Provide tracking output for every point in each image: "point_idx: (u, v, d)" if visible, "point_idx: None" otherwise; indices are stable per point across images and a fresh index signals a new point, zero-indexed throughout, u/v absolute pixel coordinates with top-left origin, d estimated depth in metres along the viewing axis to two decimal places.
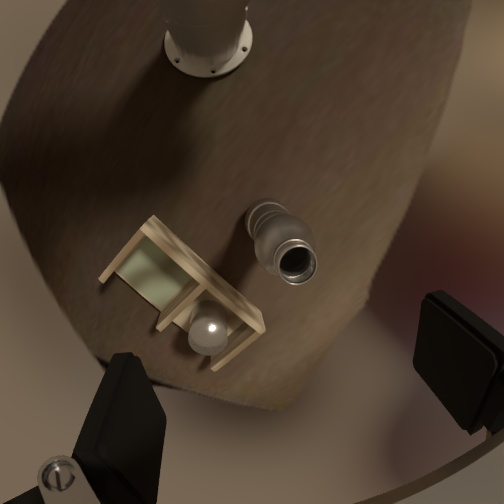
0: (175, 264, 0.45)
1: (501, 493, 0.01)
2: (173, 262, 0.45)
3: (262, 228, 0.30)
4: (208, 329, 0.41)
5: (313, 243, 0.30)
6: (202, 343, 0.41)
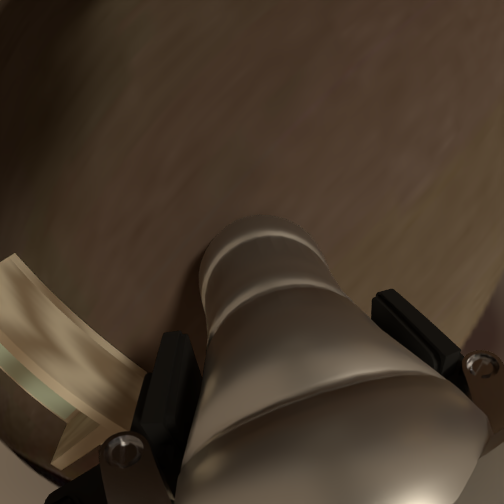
0: None
1: (501, 493, 0.01)
2: None
3: None
4: None
5: None
6: None
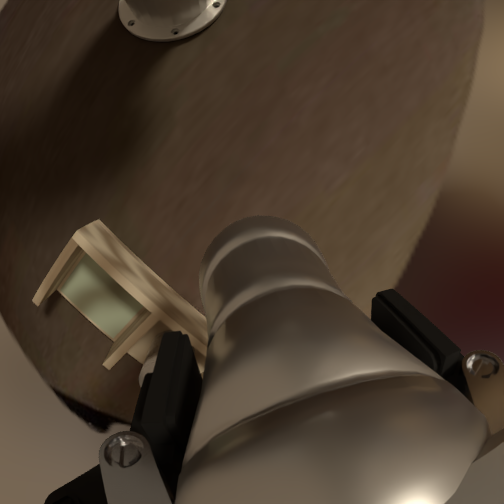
0: None
1: (501, 493, 0.01)
2: None
3: None
4: None
5: None
6: None
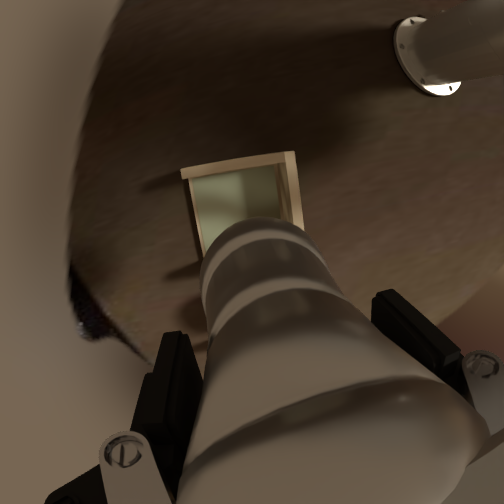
0: None
1: (501, 493, 0.01)
2: (265, 216, 0.35)
3: None
4: None
5: None
6: None
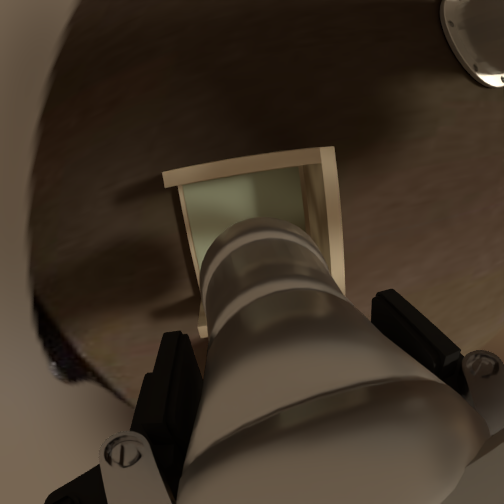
0: None
1: (501, 493, 0.01)
2: None
3: None
4: None
5: None
6: None
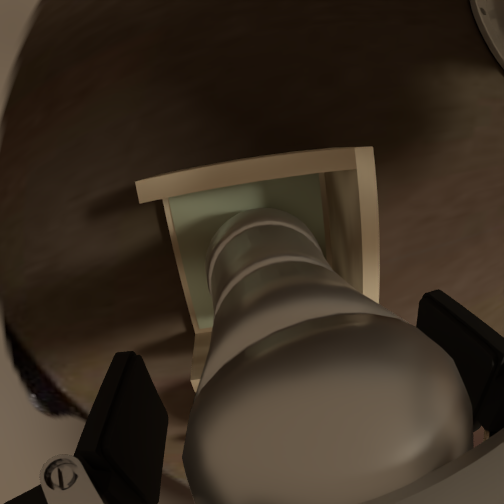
0: None
1: (501, 493, 0.01)
2: None
3: (213, 422, 0.04)
4: None
5: None
6: None
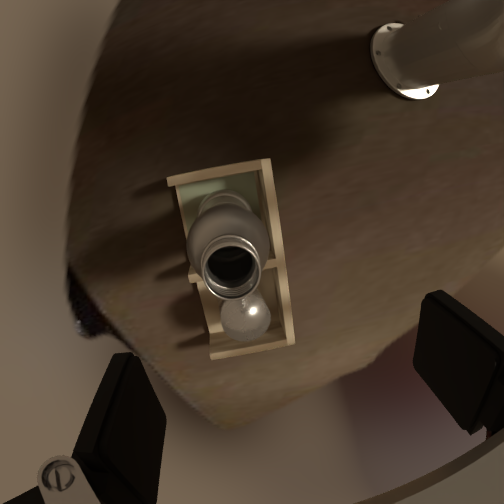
0: None
1: (501, 493, 0.01)
2: None
3: (194, 222, 0.22)
4: (247, 306, 0.33)
5: (263, 242, 0.22)
6: (239, 324, 0.34)
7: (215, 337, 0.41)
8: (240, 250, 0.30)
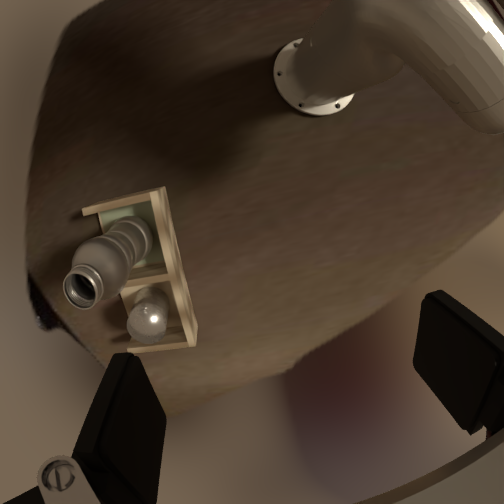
0: (154, 241, 0.43)
1: (501, 493, 0.01)
2: (153, 238, 0.43)
3: None
4: (141, 317, 0.39)
5: (115, 267, 0.27)
6: (142, 332, 0.40)
7: None
8: None
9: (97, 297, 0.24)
